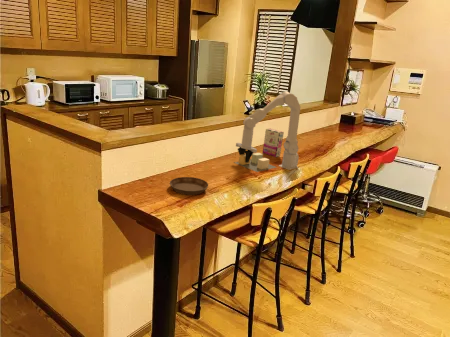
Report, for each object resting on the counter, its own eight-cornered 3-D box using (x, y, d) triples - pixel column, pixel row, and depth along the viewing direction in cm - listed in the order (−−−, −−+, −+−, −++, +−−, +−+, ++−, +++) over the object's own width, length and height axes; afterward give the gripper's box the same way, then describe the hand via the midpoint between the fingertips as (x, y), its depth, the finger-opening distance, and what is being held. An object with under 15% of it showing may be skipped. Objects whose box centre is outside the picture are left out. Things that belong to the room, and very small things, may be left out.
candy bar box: (280, 156, 240) (284, 131, 235) (275, 157, 236) (279, 132, 231) (266, 152, 247) (270, 128, 242) (262, 153, 243) (265, 128, 238)
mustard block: (245, 161, 218) (246, 153, 216) (249, 163, 215) (250, 155, 214) (238, 163, 213) (239, 154, 212) (242, 164, 211) (243, 156, 210)
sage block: (257, 160, 224) (258, 152, 222) (261, 162, 222) (263, 154, 220) (250, 161, 220) (252, 153, 218) (255, 163, 218) (256, 155, 216)
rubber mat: (253, 159, 227) (253, 158, 227) (276, 167, 216) (277, 167, 215) (233, 163, 215) (233, 162, 215) (256, 172, 203) (257, 172, 203)
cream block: (263, 166, 215) (264, 157, 213) (268, 167, 212) (269, 159, 211) (256, 167, 211) (258, 159, 209) (261, 169, 208) (262, 161, 207)
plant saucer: (161, 188, 168) (161, 182, 167) (186, 179, 182) (186, 173, 181) (191, 200, 159) (191, 193, 158) (215, 190, 173) (215, 184, 172)
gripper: (233, 136, 212) (230, 158, 216) (252, 142, 202) (249, 165, 207) (241, 135, 217) (238, 157, 221) (260, 141, 207) (257, 164, 211)
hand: (244, 161), depth 214 cm, fingers closed on mustard block, 3 cm apart
